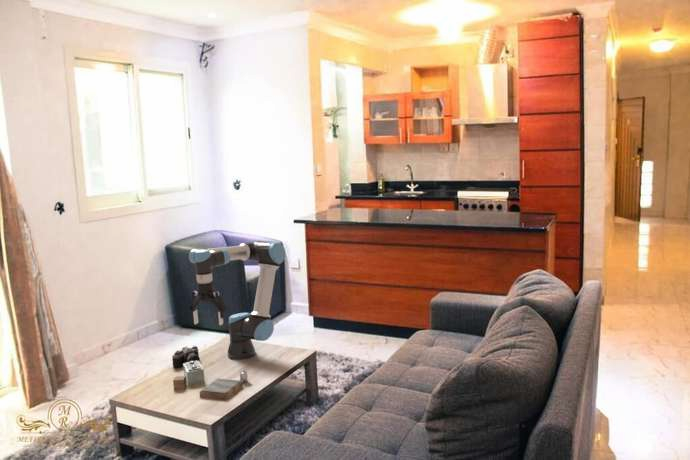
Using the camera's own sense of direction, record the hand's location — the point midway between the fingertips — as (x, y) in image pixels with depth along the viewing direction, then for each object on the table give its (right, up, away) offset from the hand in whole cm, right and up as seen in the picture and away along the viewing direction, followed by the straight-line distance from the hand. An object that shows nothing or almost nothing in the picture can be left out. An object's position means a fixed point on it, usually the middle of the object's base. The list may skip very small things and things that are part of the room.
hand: (208, 324), depth 282 cm
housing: (-10, -30, +9) cm, 32 cm away
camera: (-17, -28, +29) cm, 43 cm away
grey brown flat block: (+8, -31, -8) cm, 33 cm away
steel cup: (+17, -29, +2) cm, 34 cm away
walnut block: (-14, -31, -1) cm, 34 cm away
